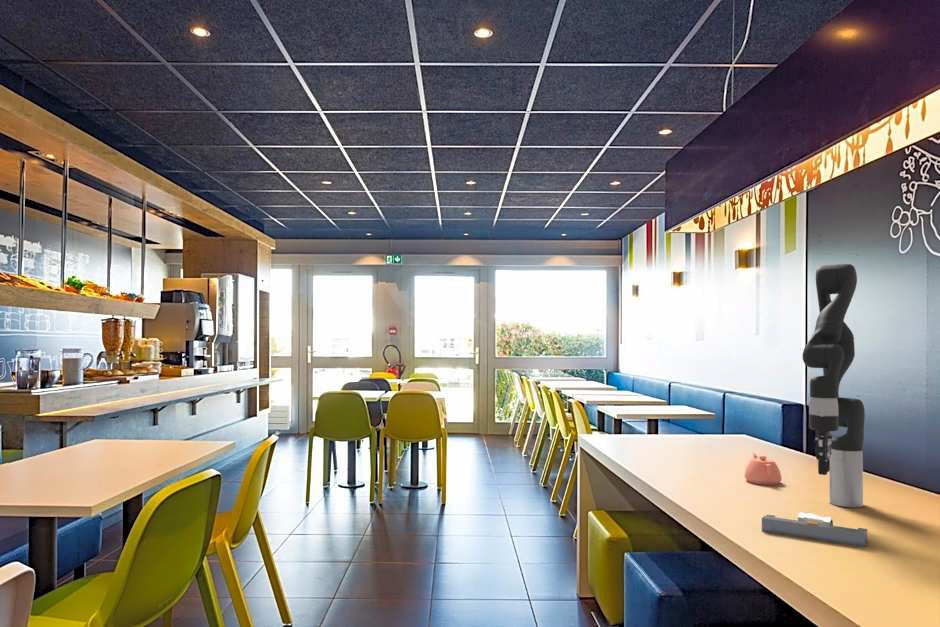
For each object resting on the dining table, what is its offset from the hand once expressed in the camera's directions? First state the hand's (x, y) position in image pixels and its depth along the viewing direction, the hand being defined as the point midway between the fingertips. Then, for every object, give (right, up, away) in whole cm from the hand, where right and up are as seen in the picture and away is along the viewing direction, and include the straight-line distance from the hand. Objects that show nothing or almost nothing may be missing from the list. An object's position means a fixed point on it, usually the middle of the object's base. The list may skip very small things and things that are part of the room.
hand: (824, 472), depth 197 cm
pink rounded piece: (+4, -16, +52) cm, 55 cm away
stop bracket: (-11, -13, -17) cm, 24 cm away
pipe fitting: (-6, -13, -9) cm, 17 cm away
